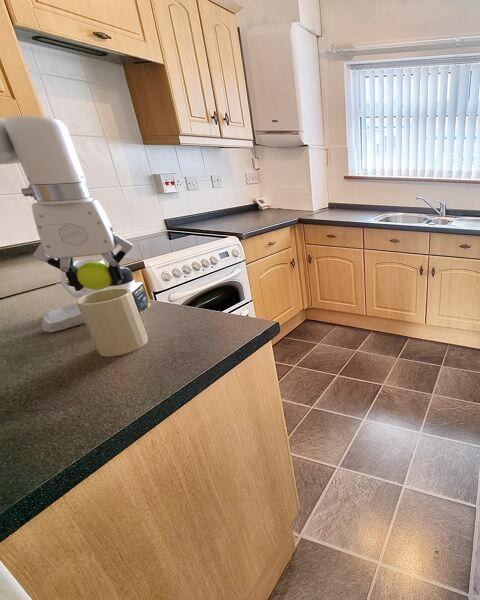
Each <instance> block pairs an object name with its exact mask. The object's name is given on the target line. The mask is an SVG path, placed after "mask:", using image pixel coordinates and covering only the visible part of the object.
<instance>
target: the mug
mask: <svg viewBox="0 0 480 600" xmlns="http://www.w3.org/2000/svg"><path fill="white" fill-rule="evenodd" d="M89 262H100V263H104V264H106V263H105V261H104V258H102V257H92V258H85V259H80V260H76V261H74V264H73V265H74V266H75V267H77V268H78V269H79V268H80V267H81V266H82V265H84V264H86V263H89ZM67 279H68V278H67V276H66V274H65V272H62V271H61V274H60V284H61V286H62V288H63V289H64V290H65V291H66V292H68V294H69V295H71V296H72V297H73V298H75V299H76V298H77V299H78V298H80V297H82V296H84V295H87V294H89V293H92V292H96V291H100V290H105V289H107V288H104V289H99V290H94V289H89V288H86V287H83V288H82V289H81V290H80V291H76V290H75V289H72V288H71V287H70V286H69V284H68V282H67Z"/></svg>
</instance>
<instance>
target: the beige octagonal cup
mask: <svg viewBox="0 0 480 600" xmlns="http://www.w3.org/2000/svg"><path fill="white" fill-rule="evenodd" d="M75 303H77V306H78V308H79V310H80V313H81V315H82V317H83V319H84V322H85V323H84V324H85V326H86V328H87V331H88V333H89V336H90V337H91V340H92V342H93V344H94V346H95V349H96V351H97V353H98V355H100V356H102V357H116V356H122V355H125V354H128V353H131V352H134V351H137V350H138V349H140V348H142V347H143V346H145V345H146V344H147V343H148V342H149V337H148V335H147V331H146V329H145V326H144V322H143V321H142V318H141V316H140V315H139V312H138V309H137V306H136V304H135V301H134V298H133V295H132V293H131V290H130V289H127V288H111V289H105V290H100V291H96V292H92V293H89V294H87V295H84V296H82V297H77V299H76V300H75Z"/></svg>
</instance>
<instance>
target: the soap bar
mask: <svg viewBox="0 0 480 600" xmlns="http://www.w3.org/2000/svg"><path fill="white" fill-rule="evenodd" d="M41 322H42V323H41V325H42V329H43V332H46V333H55V332H60V331H64V330H66V329H70V328H73V327H76V326H79V325H83V324H85V322H84V319H83V317H82V315H81V313H80V310H79V308H78V306H77V303H76V302H73V303H71V304H68V305H66V306H61V307H60V308H55V309H52V310H49V311H46V312H44V313H43V315H42V321H41Z"/></svg>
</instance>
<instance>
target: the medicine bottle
mask: <svg viewBox="0 0 480 600" xmlns="http://www.w3.org/2000/svg"><path fill="white" fill-rule="evenodd" d="M120 268H121V271H122V274H123V277H124V279H123V280H122V282H121V283H120V285H117V286H116V285H114V283H113V282H112V283H111V284H110V285H109V286H108V287H106V288H107V289H111V288H127V289H130V290H131V293H132V295H133V298H134V301H135V304H136V306H137V309H138V312H139V315H141V316H142V315H143V314H144V313H145V312H146V310H148V308H149V307H150V306H151V302H150V299H149V297H148V294H147V291H146V288H145V285H144V282H143V281H137V282H136V281H135V278H134V276H133V273H132V269H130V268H128V267H121V266H120ZM143 312H144V313H143ZM142 313H143V314H142Z"/></svg>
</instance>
